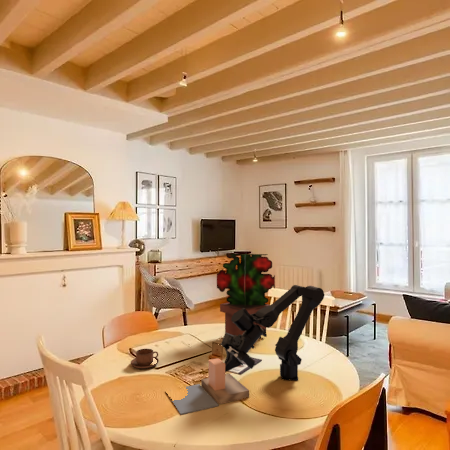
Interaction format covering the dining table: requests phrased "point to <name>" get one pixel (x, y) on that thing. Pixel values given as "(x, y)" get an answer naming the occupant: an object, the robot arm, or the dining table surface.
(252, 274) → the potted plant
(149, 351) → the cup and saucer
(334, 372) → the dining table surface
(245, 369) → the chocolate bar
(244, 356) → the robot arm
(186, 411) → the slate mat
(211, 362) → the salmon pink block
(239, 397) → the block
